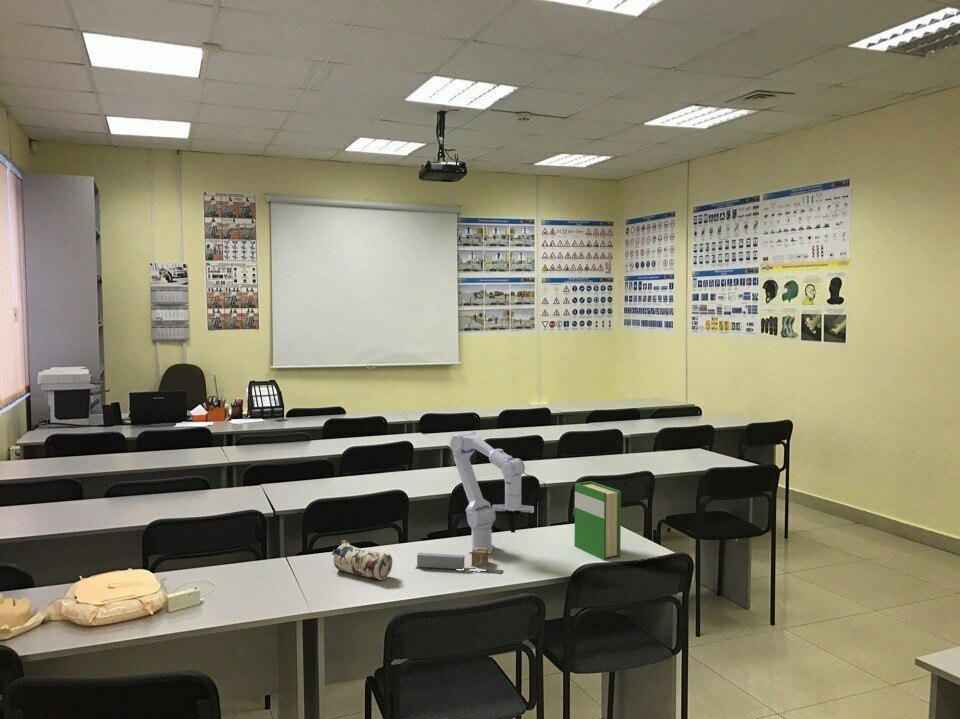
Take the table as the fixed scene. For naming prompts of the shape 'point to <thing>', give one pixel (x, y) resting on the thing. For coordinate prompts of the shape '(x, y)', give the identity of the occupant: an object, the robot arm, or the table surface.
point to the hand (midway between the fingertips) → (513, 531)
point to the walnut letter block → (480, 556)
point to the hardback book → (597, 519)
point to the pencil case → (362, 561)
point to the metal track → (464, 569)
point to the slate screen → (440, 560)
